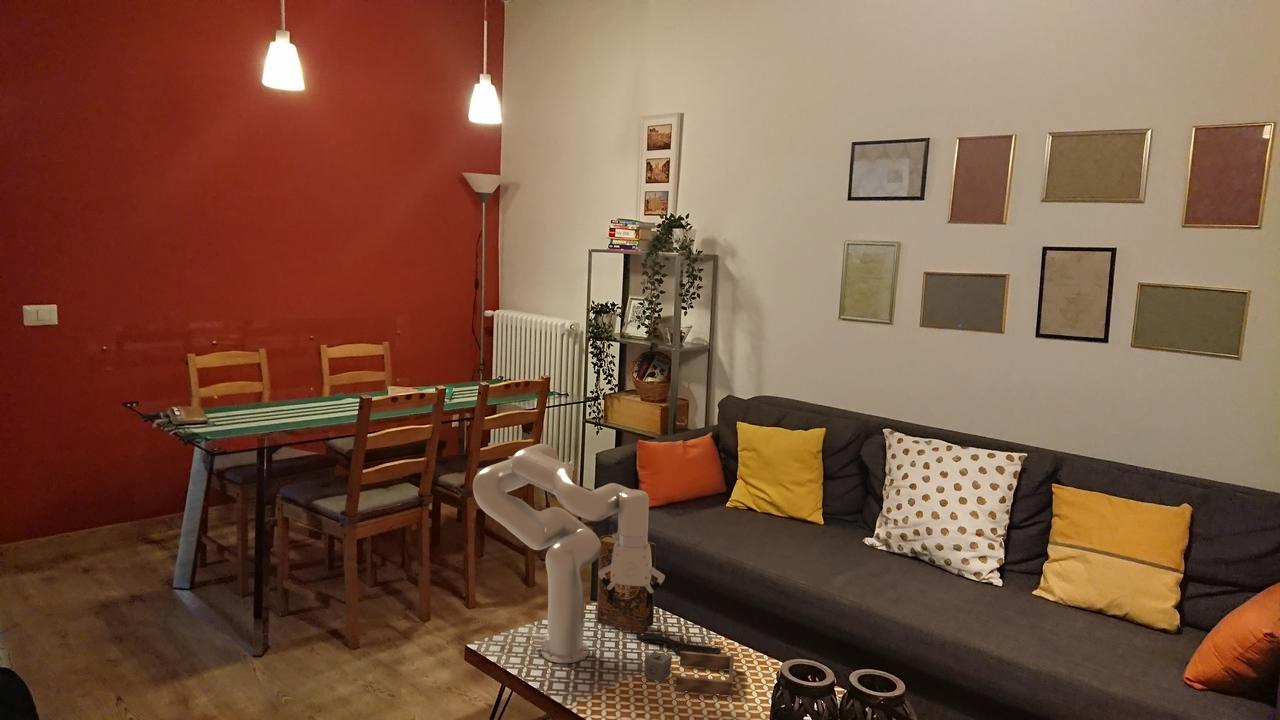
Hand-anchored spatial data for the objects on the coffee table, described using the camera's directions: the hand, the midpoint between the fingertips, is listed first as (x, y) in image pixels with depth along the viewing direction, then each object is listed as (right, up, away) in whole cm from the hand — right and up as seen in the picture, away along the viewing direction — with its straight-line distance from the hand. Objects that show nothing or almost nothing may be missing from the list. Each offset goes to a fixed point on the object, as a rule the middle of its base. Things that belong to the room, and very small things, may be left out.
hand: (630, 604), depth 212 cm
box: (+19, -19, 0) cm, 27 cm away
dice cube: (+7, -19, +1) cm, 20 cm away
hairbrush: (+13, -17, +16) cm, 27 cm away
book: (-2, -15, +29) cm, 33 cm away
